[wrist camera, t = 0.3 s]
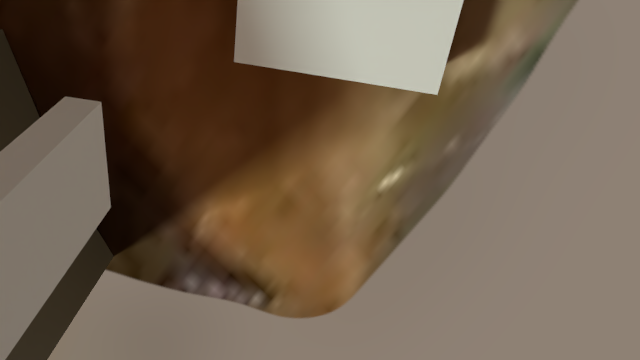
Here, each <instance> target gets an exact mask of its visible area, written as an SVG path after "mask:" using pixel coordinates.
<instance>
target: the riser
mask: <svg viewBox="0 0 640 360" xmlns="http://www.w3.org/2000/svg"><path fill="white" fill-rule="evenodd" d="M463 1H464V0H238V2H237V19H236V35H235V52H234V62H237V63H243V64H250V65H256V66H262V67H268V68H274V69H281V70H287V71H293V72H299V73H305V74H312V75H318V76H324V77H330V78H336V79H343V80H349V81H355V82H361V83H367V84H374V85H380V86H386V87H392V88H399V89H405V90H411V91H417V92H423V93H430V94H436V95H437V94H438V91H439V87H440V84H441V80H442V76H443V73H444V69H445V66H446V62H447V58H448V55H449V51H450V48H451V44H452V40H453V37H454V33H455V30H456V26H457V22H458V19H459V15H460V12H461V8H462V5H463Z"/></svg>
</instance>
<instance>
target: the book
mask: <svg viewBox="0 0 640 360" xmlns="http://www.w3.org/2000/svg"><path fill="white" fill-rule="evenodd" d="M39 118H40V117H39V114H38V112H37V110H36V107H35V105H34V103H33V100H32V98H31V95H30V93H29V91H28V88H27V86H26V84H25V81H24V79H23V77H22V74H21V72H20V69H19V67H18V65H17V62H16V60H15V58H14V55H13V53H12V51H11V48H10V46H9V43H8V41H7V39H6V36H5V34H4V32H3V30H2V29H0V152H1V151H2V150H3V149H4V148H5V147H6V146H8V145H9V144H10V143H11V142H12V141H13V140H15V139H16V138H17V137H18V136H19V135H21V134H22V133H23V132H24V131H25V130H26V129H28V128H29V127H30V126H31V125H32V124H33V123H35V122H36V121H37V120H38V119H39ZM113 257H114V256H113V254H112V253H111V251H110V249H109V248H108V246H107V245H106V243H105V241H104V240H103V238H102V237H101V235H100V233H99V232H98V230H97V229H96V230H95V231H94V232H93V234H92V235H91V237H90V238H89V240H88V241H87V243H86V244H85V245H84V247H83V248H82V250H81V251H80V253H79V254H78V256H77V257H76V258H75V260H74V261H73V263H72V264H71V266H70V267H69V269H68V270H67V271H66V273H65V274H64V276H63V277H62V279H61V280H60V282H59V283H58V284H57V286H56V287H55V289H54V290H53V292H52V293H51V295H50V296H49V297H48V299H47V300H46V302H45V303H44V305H43V306H42V307H41V309H40V310H39V312H38V313H37V315H36V316H35V318H34V319H33V320H32V322H31V323H30V325H29V326H28V328H27V329H26V331H25V332H24V333H23V335H22V336H21V338H20V339H19V341H18V342H17V344H16V345H15V346H14V348H13V349H12V351H11V352H10V354H9V355H8V357H7V358H6V359H5V360H47V359H48V357H49V356H50V354H51V353H52V351H53V350H54V348H55V347H56V345H57V343H58V342H59V340H60V339H61V337H62V336H63V334H64V333H65V331H66V329H67V328H68V326H69V325H70V323H71V322H72V320H73V318H74V317H75V315H76V314H77V312H78V311H79V309H80V308H81V306H82V305H83V303H84V302H85V300H86V298H87V297H88V295H89V294H90V292H91V290H92V289H93V288H94V286H95V284H96V283H97V281H98V280H99V278H100V277H101V275H102V274H103V272H104V270H105V269H106V267H107V266H108V264H109V263H110V261H111V260H112V258H113Z"/></svg>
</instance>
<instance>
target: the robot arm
mask: <svg viewBox="0 0 640 360" xmlns="http://www.w3.org/2000/svg"><path fill="white" fill-rule="evenodd" d="M110 208H111V202H110V191H109V180H108V169H107V159H106V148H105V137H104V126H103V115H102V104H101V102H99V101H92V100H86V99H79V98H72V97H66V96H65V97H64V98H63V99H62V100H61V101H59V102H58V103H57V104H56V105H55V106H53V107H52V108H51V109H50V110H49V111H48V112H46V113H45V114H44V115H43V116H42V117H41V118H39V119H38V120H37V121H36V122H35V123H33V124H32V125H31V126H30V127H29V128H28V129H26V130H25V131H24V132H23V133H22V134H21V135H19V136H18V137H17V138H16V139H15V140H13V141H12V142H11V143H10V144H9V145H8V146H6V147H5V148H4V149H3V150H2V151H1V152H0V360H5V359H6V358H7V357H8V355H9V354H10V352H11V351H12V349H13V348H14V346H15V345H16V344H17V342H18V341H19V339H20V338H21V336H22V335H23V333H24V332H25V331H26V329H27V328H28V326H29V325H30V323H31V322H32V320H33V319H34V318H35V316H36V315H37V313H38V312H39V310H40V309H41V307H42V306H43V305H44V303H45V302H46V300H47V299H48V297H49V296H50V295H51V293H52V292H53V290H54V289H55V287H56V286H57V284H58V283H59V282H60V280H61V279H62V277H63V276H64V274H65V273H66V271H67V270H68V269H69V267H70V266H71V264H72V263H73V261H74V260H75V258H76V257H77V256H78V254H79V253H80V251H81V250H82V248H83V247H84V245H85V244H86V243H87V241H88V240H89V238H90V237H91V235H92V234H93V232H94V231H95V230H96V228H97V227H98V225H99V224H100V222H101V221H102V219H103V218H104V217H105V215H106V214H107V212H108V211H109V209H110Z"/></svg>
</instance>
